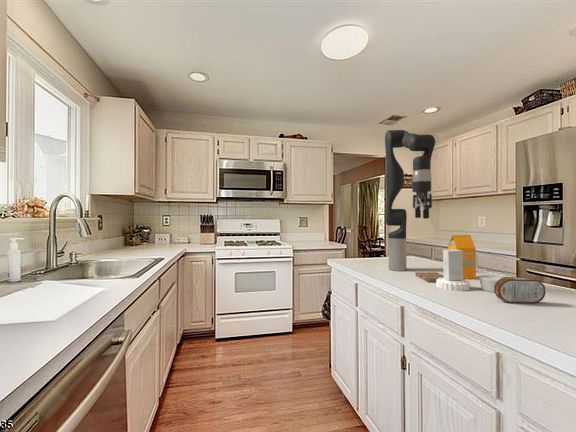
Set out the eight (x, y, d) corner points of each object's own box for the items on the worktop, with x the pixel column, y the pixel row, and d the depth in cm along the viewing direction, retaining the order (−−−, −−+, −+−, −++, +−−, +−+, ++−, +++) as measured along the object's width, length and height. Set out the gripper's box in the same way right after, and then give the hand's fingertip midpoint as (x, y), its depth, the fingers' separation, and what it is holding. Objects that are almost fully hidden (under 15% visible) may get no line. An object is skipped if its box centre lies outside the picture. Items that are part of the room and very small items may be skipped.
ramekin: (520, 295, 110) (520, 281, 110) (486, 294, 112) (486, 280, 112) (504, 288, 121) (504, 275, 121) (474, 287, 123) (474, 274, 123)
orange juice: (476, 279, 139) (475, 235, 139) (456, 279, 139) (456, 235, 139) (466, 275, 147) (466, 234, 147) (448, 275, 147) (447, 234, 147)
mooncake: (429, 286, 126) (429, 278, 126) (451, 284, 131) (451, 275, 131) (454, 293, 115) (454, 283, 115) (476, 290, 119) (476, 281, 119)
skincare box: (457, 278, 125) (456, 249, 125) (463, 280, 121) (463, 250, 120) (442, 278, 125) (442, 249, 125) (448, 281, 120) (448, 250, 120)
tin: (540, 301, 102) (540, 276, 102) (547, 304, 99) (547, 278, 99) (493, 300, 103) (493, 276, 103) (499, 303, 100) (498, 278, 100)
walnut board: (415, 275, 148) (415, 272, 148) (436, 275, 147) (436, 272, 147) (428, 282, 132) (428, 279, 132) (452, 282, 131) (452, 279, 131)
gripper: (407, 182, 138) (407, 217, 138) (419, 179, 123) (419, 218, 124) (423, 182, 137) (423, 217, 138) (438, 179, 123) (438, 218, 124)
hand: (421, 218), depth 131 cm, fingers open, 8 cm apart
